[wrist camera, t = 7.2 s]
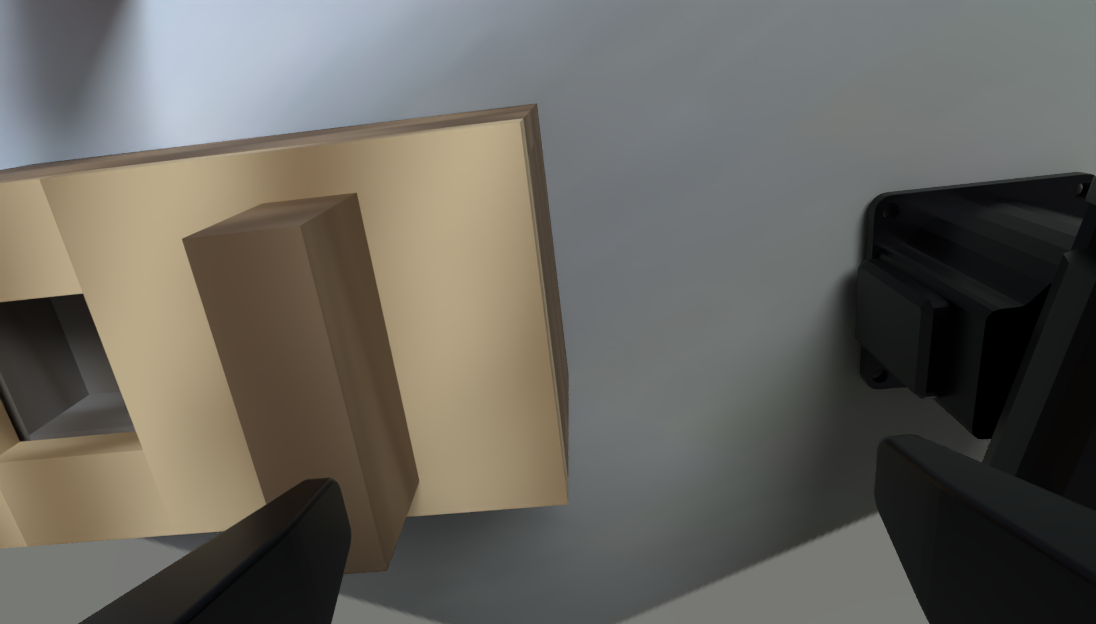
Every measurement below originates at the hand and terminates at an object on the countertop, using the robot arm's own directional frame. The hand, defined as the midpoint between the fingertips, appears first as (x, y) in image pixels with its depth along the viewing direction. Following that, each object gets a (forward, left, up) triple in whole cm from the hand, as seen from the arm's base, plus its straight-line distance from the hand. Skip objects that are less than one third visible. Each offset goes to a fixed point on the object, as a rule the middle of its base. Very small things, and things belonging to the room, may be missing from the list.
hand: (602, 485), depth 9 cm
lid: (+9, 0, -7) cm, 11 cm away
